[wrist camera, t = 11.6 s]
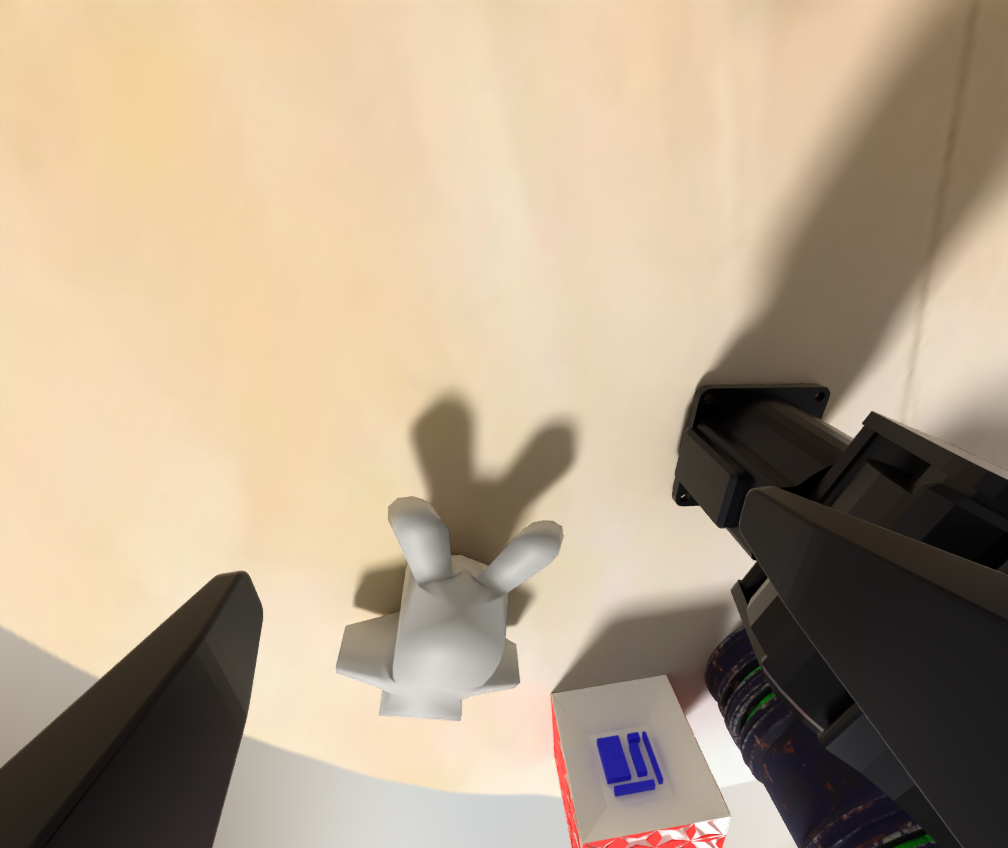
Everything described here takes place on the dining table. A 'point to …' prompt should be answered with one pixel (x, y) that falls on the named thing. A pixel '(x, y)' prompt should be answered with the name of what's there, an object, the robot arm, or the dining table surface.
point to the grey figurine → (444, 619)
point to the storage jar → (802, 763)
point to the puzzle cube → (634, 769)
